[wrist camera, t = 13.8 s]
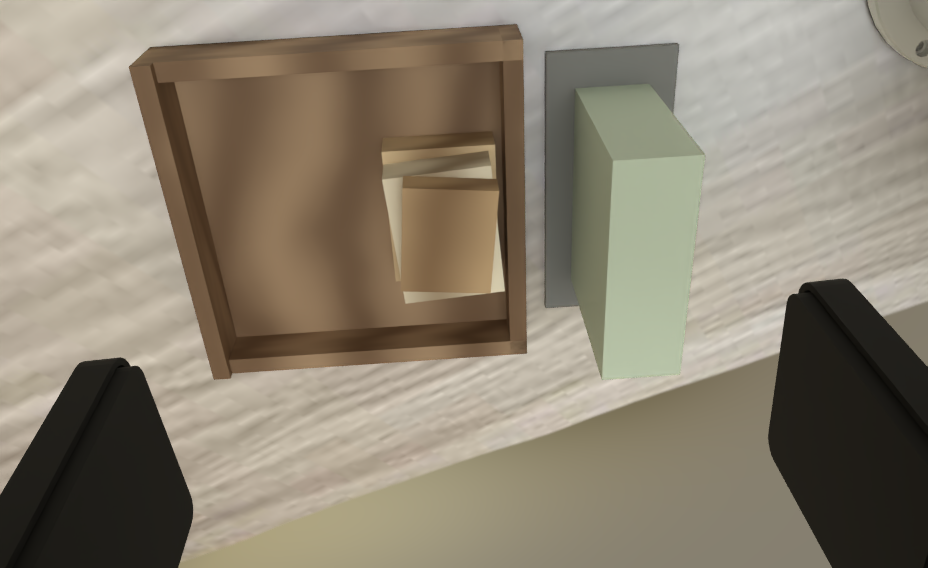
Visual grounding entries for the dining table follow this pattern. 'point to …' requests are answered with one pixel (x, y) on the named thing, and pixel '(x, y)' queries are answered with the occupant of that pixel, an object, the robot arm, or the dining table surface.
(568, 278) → the mat
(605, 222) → the pale green rectangular block
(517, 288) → the wooden tray
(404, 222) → the offcut teak
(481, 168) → the offcut birch
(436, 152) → the offcut oak
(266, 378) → the dining table surface
